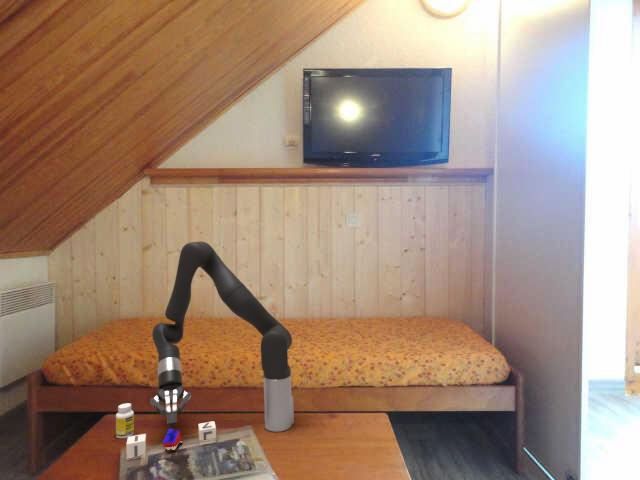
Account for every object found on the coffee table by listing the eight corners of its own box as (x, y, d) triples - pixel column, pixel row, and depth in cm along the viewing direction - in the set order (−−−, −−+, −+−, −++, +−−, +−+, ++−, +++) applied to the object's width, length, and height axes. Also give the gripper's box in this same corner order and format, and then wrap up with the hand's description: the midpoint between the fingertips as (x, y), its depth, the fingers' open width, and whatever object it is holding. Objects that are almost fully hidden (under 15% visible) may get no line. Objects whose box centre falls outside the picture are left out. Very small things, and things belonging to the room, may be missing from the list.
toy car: (166, 453, 124) (160, 436, 120) (172, 441, 127) (166, 424, 124) (177, 454, 123) (172, 436, 120) (183, 441, 127) (177, 424, 123)
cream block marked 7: (214, 436, 131) (214, 420, 131) (216, 443, 126) (215, 427, 126) (198, 439, 129) (198, 423, 129) (199, 446, 124) (199, 430, 124)
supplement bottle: (126, 439, 130) (126, 409, 130) (112, 438, 131) (111, 408, 131) (137, 431, 135) (137, 402, 136) (123, 430, 137) (122, 401, 137)
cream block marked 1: (146, 449, 123) (145, 433, 123) (145, 458, 119) (144, 440, 119) (128, 453, 122) (127, 436, 122) (126, 461, 117) (126, 444, 117)
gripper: (148, 371, 130) (148, 424, 119) (190, 366, 136) (195, 416, 124) (148, 382, 135) (149, 434, 124) (189, 377, 140) (193, 426, 129)
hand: (172, 425), depth 124 cm, fingers closed
